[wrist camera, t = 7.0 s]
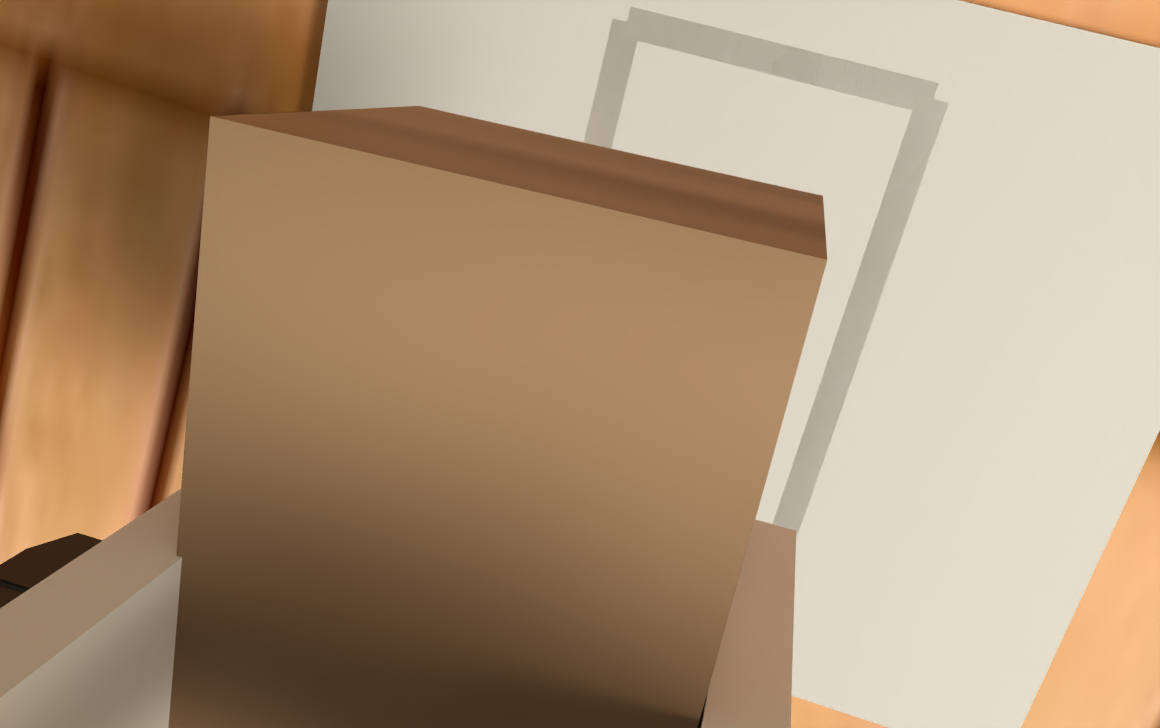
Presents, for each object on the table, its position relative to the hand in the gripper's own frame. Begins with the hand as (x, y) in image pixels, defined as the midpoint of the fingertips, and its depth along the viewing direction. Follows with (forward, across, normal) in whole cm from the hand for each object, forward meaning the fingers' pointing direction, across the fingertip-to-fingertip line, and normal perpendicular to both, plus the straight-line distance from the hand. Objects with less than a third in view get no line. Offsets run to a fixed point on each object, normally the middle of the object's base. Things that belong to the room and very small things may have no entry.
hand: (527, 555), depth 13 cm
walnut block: (0, 0, 0) cm, 0 cm away
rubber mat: (+13, +1, 0) cm, 13 cm away
